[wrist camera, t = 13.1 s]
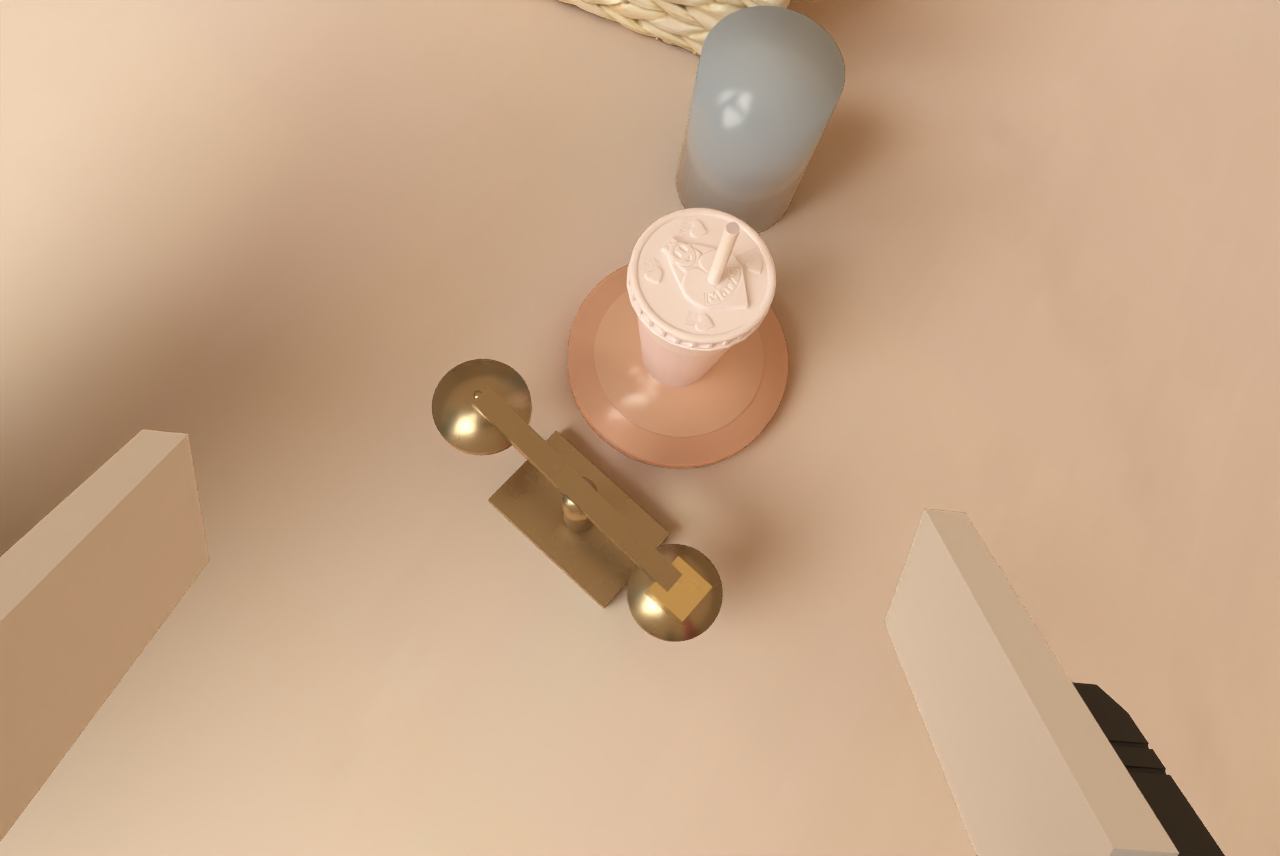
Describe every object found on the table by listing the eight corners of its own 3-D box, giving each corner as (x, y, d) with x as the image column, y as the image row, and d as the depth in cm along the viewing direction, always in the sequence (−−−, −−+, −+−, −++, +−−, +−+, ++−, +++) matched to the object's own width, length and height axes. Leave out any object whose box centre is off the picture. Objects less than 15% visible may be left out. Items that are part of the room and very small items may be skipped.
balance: (432, 449, 42) (396, 398, 34) (499, 383, 44) (481, 319, 35) (665, 666, 40) (688, 668, 32) (729, 590, 41) (767, 574, 33)
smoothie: (685, 435, 42) (736, 332, 29) (591, 359, 43) (598, 224, 29) (758, 349, 44) (839, 213, 30) (667, 277, 44) (706, 114, 31)
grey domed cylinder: (651, 184, 48) (670, 65, 38) (727, 112, 49) (763, -19, 40) (741, 258, 47) (783, 156, 37) (815, 183, 48) (873, 66, 39)
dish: (522, 367, 44) (520, 358, 43) (666, 226, 47) (669, 213, 46) (687, 514, 42) (690, 510, 41) (825, 359, 45) (833, 350, 44)
